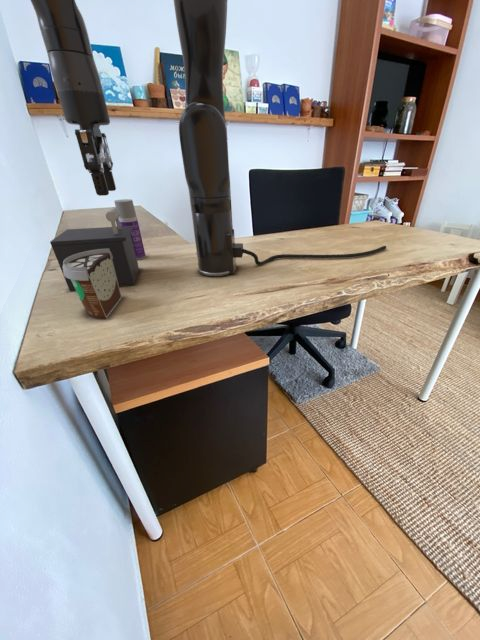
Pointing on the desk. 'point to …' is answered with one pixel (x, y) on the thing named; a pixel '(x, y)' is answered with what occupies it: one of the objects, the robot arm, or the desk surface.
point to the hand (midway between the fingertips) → (107, 192)
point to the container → (130, 219)
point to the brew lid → (95, 232)
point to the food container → (94, 281)
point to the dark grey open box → (121, 259)
